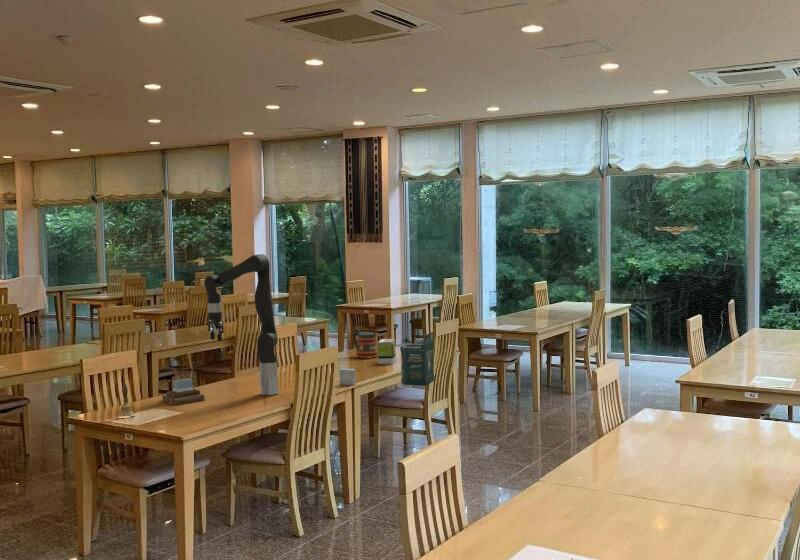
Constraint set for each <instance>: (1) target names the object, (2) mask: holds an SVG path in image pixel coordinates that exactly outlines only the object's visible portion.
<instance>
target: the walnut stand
mask: <svg viewBox="0 0 800 560" xmlns="http://www.w3.org/2000/svg"><path fill="white" fill-rule="evenodd" d="M165 392H166V393H165V394H163V395H162V402H164V401H165V402H164V403H168V404H170V405H174V406H180V405H186V404H191V403H192V404H193V403H197V402H204V401H205V394H203V393H201V390H199V389H196V388H193V391H190V392H184V393H178V394H174V393H173V390H171V391H165Z"/></svg>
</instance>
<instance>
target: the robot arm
mask: <svg viewBox="0 0 800 560" xmlns="http://www.w3.org/2000/svg"><path fill="white" fill-rule="evenodd" d="M270 271H271V269H270V261H269V258H268V256H267V255H266V254H262V253H261V254H253V255H251V256H249V257H248V258H246V259H245V260H243V261H242V262H240V263H238V264H236V265H233V266H231V267H229V268H227V269H224V270H221V272H219V273H218V274H214V275H213V274H212V275H207V276H206V277H205V279H204V282H203V283H204V288H205V292H206V295H207V317H208V318H207V319H208V321H207V332H209V337H210V340H213V341H214V340H215V339H216V338H215V332H216V335H217V336H216V337H217V341H218V342H222V341H223V337H222V334H225V330H224V322H223V321H221V320H222V319H223V307H222V296H221V293H220V292H218V291H217V288H221V287H223V286H224V285H226V284H227V283H231V282H233V281H235V280H237V279H238V278H240V277H241V276H243V275H246V274H250V273H257V283H256V284H257V285H256V288H255V293H254V306H255V310H256V313H257V316H258V318H259V321H260V324H261V334H260V335H259V336H258V337H257V343H256V347H257V357H258V360H259V382H260V383H259V385H260V395H262V396H274V395H279V394H280V392H279V376H278V359H277V358H278V357H277V356H276V354H275V347H276V346H277V344H278V339H279V337H278V333H277V329H276V325H275V317H274V316H275V315H274V305H273V297H272V288H271V278H270V274H271V272H270Z"/></svg>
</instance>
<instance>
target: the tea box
mask: <svg viewBox="0 0 800 560" xmlns="http://www.w3.org/2000/svg"><path fill="white" fill-rule="evenodd" d="M376 349H377V363H378V365H393V364H394V363H395V362H396V360H397V352H396V339H395V338H380V339H379V340H378V341H376Z"/></svg>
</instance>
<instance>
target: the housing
mask: <svg viewBox="0 0 800 560" xmlns="http://www.w3.org/2000/svg"><path fill="white" fill-rule="evenodd" d="M172 383H173V388H172V389H173V390H172V391H173V393H174V394H178V393H184V392H190V391H193V389H194V386H193V379H192V378H188V377H187V378H181V379H175V380H174V379H173V382H172Z"/></svg>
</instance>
